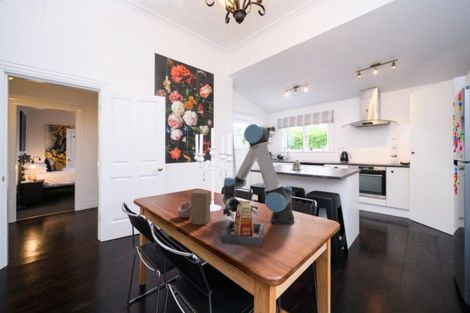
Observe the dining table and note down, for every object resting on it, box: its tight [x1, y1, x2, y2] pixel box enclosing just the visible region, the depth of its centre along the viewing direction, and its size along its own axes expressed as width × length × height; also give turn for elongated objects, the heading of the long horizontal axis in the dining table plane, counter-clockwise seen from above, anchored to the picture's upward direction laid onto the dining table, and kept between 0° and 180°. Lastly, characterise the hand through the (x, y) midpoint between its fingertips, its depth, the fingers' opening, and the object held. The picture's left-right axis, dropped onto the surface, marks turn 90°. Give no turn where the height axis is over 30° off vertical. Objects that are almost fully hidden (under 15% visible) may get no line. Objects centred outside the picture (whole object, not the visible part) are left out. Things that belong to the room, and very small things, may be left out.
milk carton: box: [233, 199, 255, 237], centre depth 103 cm, size 9×9×20 cm
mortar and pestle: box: [175, 200, 191, 219], centre depth 134 cm, size 12×12×12 cm
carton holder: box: [220, 220, 265, 248], centre depth 104 cm, size 20×20×4 cm
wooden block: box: [190, 189, 211, 226], centre depth 125 cm, size 10×10×20 cm
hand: (245, 215), depth 100 cm, fingers open, 13 cm apart
